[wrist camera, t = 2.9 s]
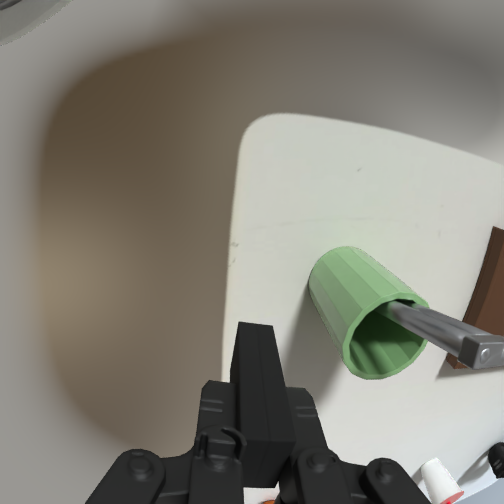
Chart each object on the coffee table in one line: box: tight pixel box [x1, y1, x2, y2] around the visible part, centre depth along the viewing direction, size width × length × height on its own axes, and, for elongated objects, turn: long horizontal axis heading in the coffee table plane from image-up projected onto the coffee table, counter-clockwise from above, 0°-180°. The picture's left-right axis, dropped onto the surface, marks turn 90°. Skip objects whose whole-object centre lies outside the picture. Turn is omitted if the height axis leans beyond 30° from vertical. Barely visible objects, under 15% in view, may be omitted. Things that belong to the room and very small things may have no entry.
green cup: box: [309, 247, 430, 380], centre depth 20 cm, size 6×6×9 cm
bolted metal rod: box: [374, 299, 504, 370], centre depth 16 cm, size 2×1×16 cm, turn 80°
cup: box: [420, 458, 464, 504], centre depth 29 cm, size 5×5×12 cm
